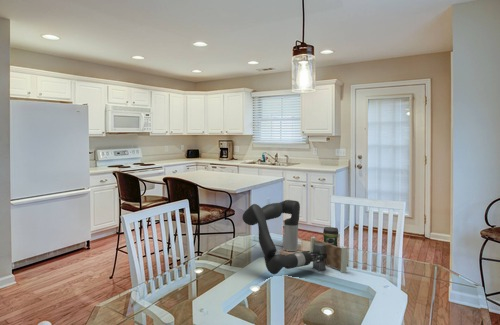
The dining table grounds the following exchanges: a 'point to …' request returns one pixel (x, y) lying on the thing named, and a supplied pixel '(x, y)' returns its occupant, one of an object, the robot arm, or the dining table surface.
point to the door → (332, 255)
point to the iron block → (319, 250)
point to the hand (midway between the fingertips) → (322, 254)
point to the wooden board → (343, 255)
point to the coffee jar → (330, 235)
